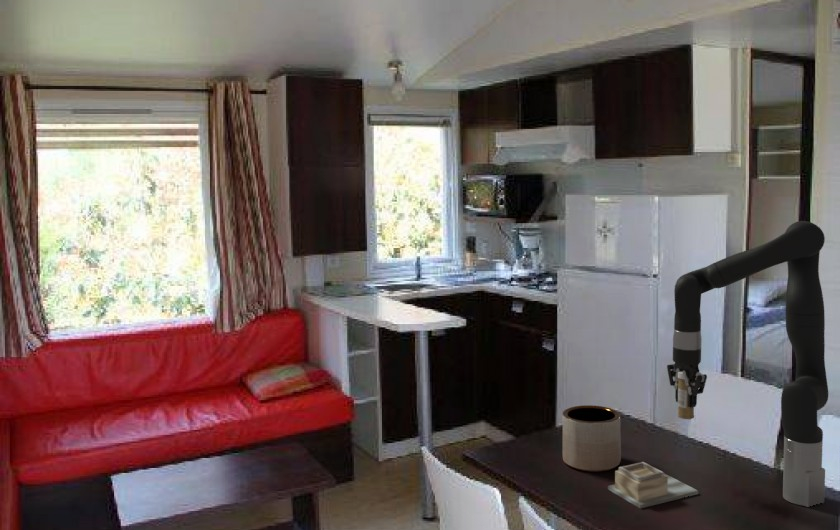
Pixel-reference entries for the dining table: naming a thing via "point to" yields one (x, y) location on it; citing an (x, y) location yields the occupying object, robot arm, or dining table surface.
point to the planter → (591, 438)
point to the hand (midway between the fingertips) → (685, 404)
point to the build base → (672, 493)
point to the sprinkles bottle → (684, 399)
